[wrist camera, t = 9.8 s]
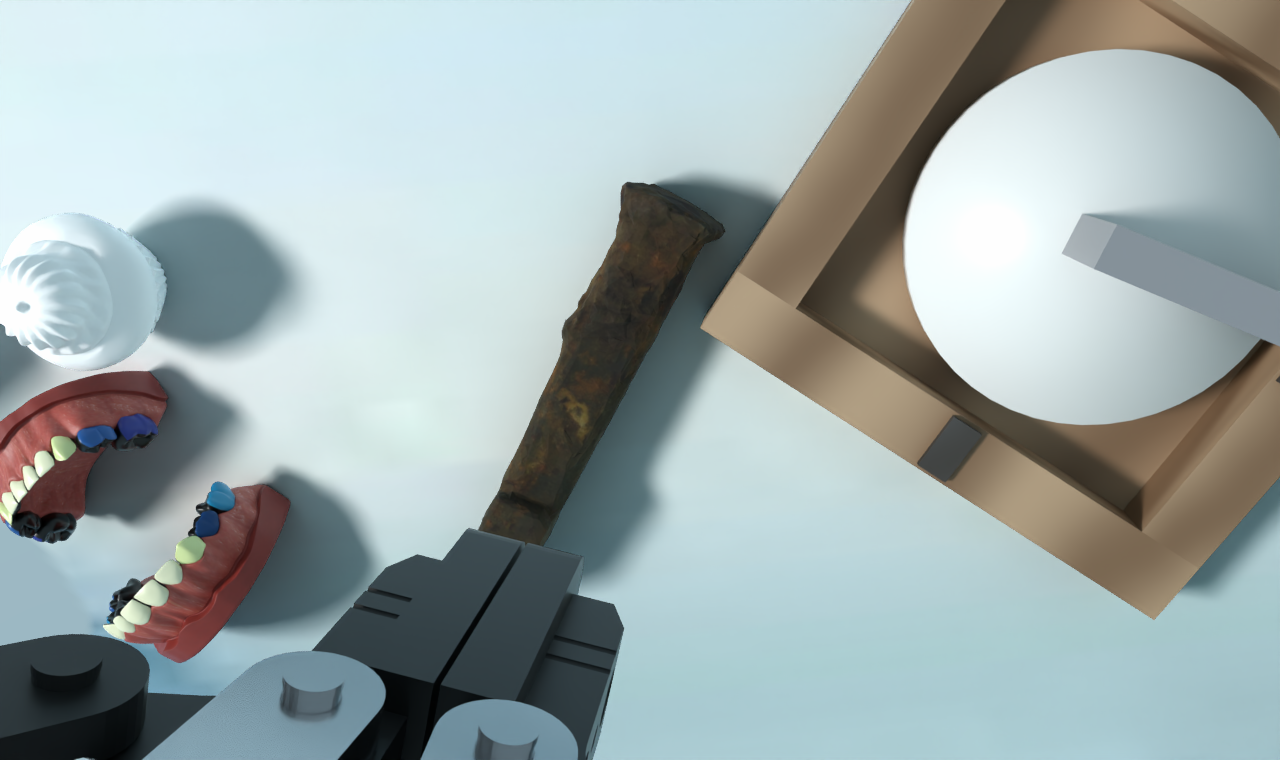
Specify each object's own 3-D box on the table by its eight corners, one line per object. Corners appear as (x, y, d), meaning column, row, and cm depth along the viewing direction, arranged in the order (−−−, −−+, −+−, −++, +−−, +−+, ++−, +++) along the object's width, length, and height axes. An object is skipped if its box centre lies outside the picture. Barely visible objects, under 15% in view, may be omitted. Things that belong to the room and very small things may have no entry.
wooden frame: (705, 314, 41) (699, 329, 38) (1021, -168, 36) (1043, -195, 33) (1130, 587, 42) (1156, 623, 39) (1506, 149, 36) (1571, 152, 33)
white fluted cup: (195, 365, 45) (91, 407, 38) (61, 336, 45) (-65, 373, 39) (205, 221, 43) (99, 239, 37) (67, 193, 44) (-64, 205, 37)
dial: (843, 332, 40) (852, 364, 35) (1002, -7, 36) (1039, -29, 31) (1164, 467, 40) (1223, 521, 34) (1355, 138, 36) (1453, 140, 31)
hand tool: (641, 169, 41) (622, 174, 36) (731, 220, 41) (723, 232, 36) (434, 556, 46) (395, 603, 41) (514, 602, 46) (484, 654, 41)
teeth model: (15, 374, 39) (253, 595, 40) (120, 335, 45) (325, 528, 46) (-95, 514, 42) (133, 719, 43) (19, 460, 48) (216, 640, 49)
